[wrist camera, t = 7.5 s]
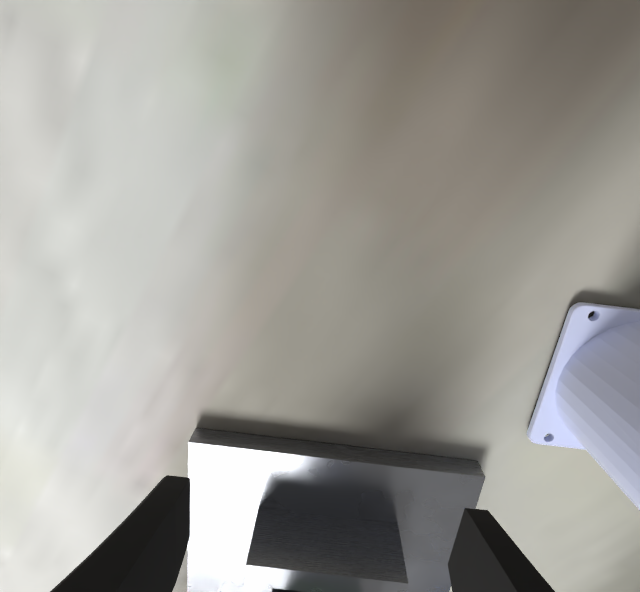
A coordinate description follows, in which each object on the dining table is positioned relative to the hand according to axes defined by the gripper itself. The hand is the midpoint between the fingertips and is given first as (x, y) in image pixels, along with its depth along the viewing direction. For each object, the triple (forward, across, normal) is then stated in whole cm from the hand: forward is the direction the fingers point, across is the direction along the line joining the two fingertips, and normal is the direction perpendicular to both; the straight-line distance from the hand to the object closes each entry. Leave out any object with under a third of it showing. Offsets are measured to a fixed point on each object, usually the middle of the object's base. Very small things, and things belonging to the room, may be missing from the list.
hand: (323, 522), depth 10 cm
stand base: (+10, -1, +14) cm, 17 cm away
